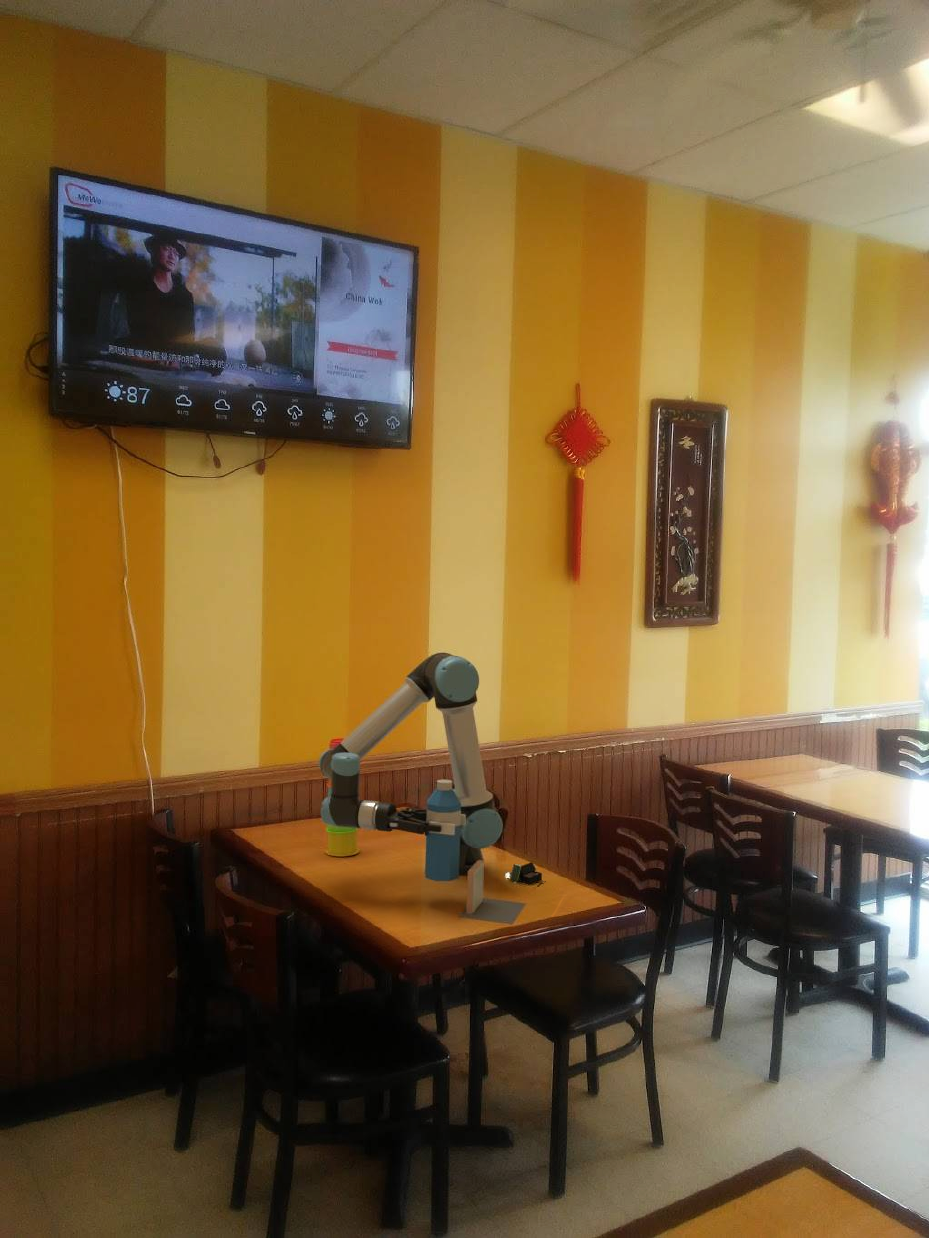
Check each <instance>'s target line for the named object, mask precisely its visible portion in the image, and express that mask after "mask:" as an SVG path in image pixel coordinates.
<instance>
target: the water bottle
mask: <svg viewBox="0 0 929 1238" xmlns="http://www.w3.org/2000/svg"><path fill="white" fill-rule="evenodd" d="M453 789H454V788H453V781H452V780H450V779H438V780H437V781H436V788H435V789H434V791H433V792H432V793H431V795H430V796H429V797H428V798H427V800H426V809H427V822H428V823H429V824H430V822H441V823H450V824H455V835H447V834H438V833H430V831H429V835H428V836H425V857H424V858H425V859H424V860H425V862H424V863H425V865H424V874H425V875H424V877H425V879H428V880H431V881H434V882H451V881H455V880H458V879H459V878H460V875H459V855H460V823H461V802H460V800H459V798H458V797H457V795H456V794H455V792H454V791H453Z"/></svg>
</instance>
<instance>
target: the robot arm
mask: <svg viewBox="0 0 929 1238" xmlns="http://www.w3.org/2000/svg"><path fill="white" fill-rule="evenodd" d="M404 680H405V681H404V683H403V684H402V685H400V687H398V689H397V690H396V691H394V692H393V693H392V694H391V695H390V696H389V697H388V698H387V699H386V700H385V701H383V703H381V705H379V706H378V707H377V708H376V709H375V710H374V711H372V713H371V714H370V715H368V716H367V718H365V719H364V720H363V721H362V722H361V723H360V724H359V725H358V726H356V728H354V729H353V731H351V732H350V733H348V735H347V736H346V737H344V738H345V739H343V741H342V742H341V743H339V744H338V745H337V746H336V747H335V748H334V749H330V750H329V749H327V750H325V751H323V752H322V753H321V754H320V756H319V758H318V767H319V771H321V773H322V775H323V776H324V777H325V778H327V779H328V781H329V780H330V781H331V796H330V797H328V796H326V797H325V798H324V799H323V800H322V803H321V808H320V817H321V820H322V822H323V823H324V824H326V825H327V826H328V825H334V826H338V827H351V828H358V829H361V830H362V829H363V830H366V832H370V830H371V831H372V830H373V831H376V830H377V831H380V832H389V833H390V832H392V831H393V830H394V831H395V830H396V831H403V832H406V833H407V832H408V833H413V834H418V835H424V836H425V837H426V836H428V835H429V831H430V833H438V834H447V835H455V824H450V823H441V822H430V824H429V823H428V822H427V808H412V807H406V808H405V809H401V810H397V807H396V804H395V803H394V802H387V801H381V802H380V801H378V800H377V801H375V800H367V799H360V779H361V778H360V777H361V775H360V774H361V763H360V761H361V760H362V759H363V758H365V757H366V756H367V755H368V753H370V752H371V751H372V750H373V749H374V748H375V747H377V745H378V744H380V743H381V742H382V741H383V740H384V739H385V738H386V737H387V736H388V735H389V734H390V733H391V732H392V731H394V729H396V728H397V727H398V726H399V725H400V724H401V723H403V721H404V720H405V719H407V718H408V717H409V716H410V715H411V714H412V713H413V712H415V710H416V709H417V708H418V707H419V706H421V704H422V705H423V703H429V702H431V700H432V699H433V698H434V703H435V708H436V709H437V710H438V711H440V712H441V713H442V718H443V724H444V731H445V736H446V742H447V748H448V755H449V760H450V761H449V762H450V767H451V772H452V779H453V784H454V788H452V789H453V791H454V792H455V794H456V795H457V797H458V798H459V800H460V802H461V823H460V855H459V876H461V875H462V876H464V875H468V871H469V869H470V868H471V867H472V866H473V865H474V864H475V863H476V862H477V861H478V860H481V861H483V863H484V864H485V859H484V855H483V852H482V850H483V849H487V848H489V847H491V846H492V845H494V844H495V843H496V842H497V841H498V840H499V838H500V837H501V834H502V832H503V828H504V825H503V824H504V823H503V820H502V817H501V816H500V814H499V812H497V810H496V808H495V806H496V805H495V800H494V794H493V793H492V792H490V791H489V790H487V785H486V780H485V774H484V769H483V768H484V767H483V761H482V755H481V749H480V748H481V747H480V741H479V736H478V729H477V723H476V719H475V718H476V717H475V713H474V712H475V711H474V707H475V705H476V704H477V703H478V696H477V691H478V690H479V686H480V675H479V673H478V670H477V668H476V667H475V665H474V664H473V663H471V661H469V660H468V659H467V658H464V657H463V656H459V655H453V654H451V653H448V652H436V653H434V654H431V655H430V656H428V657H427V658H425V659H424V660H423V661H422V662H421V663H419V664H418V665H417V666H416V667H415V668H414V669H413V670H412V671H411V672H409V674H408V675H406V676H405V678H404ZM481 849H482V850H481Z"/></svg>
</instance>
